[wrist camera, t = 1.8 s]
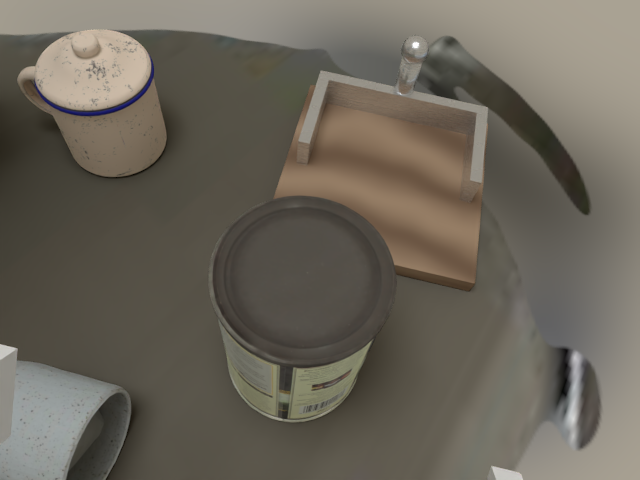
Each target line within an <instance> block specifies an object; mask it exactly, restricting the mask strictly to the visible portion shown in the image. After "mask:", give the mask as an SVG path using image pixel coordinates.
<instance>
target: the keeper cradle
mask: <svg viewBox="0 0 640 480" xmlns="http://www.w3.org/2000/svg"><path fill="white" fill-rule="evenodd" d="M401 54H402V61H401V65H400V68H399V72H398V76H397V79H396V83H395V87H393V86H389V85H384V84H380V83H375V82H371V81H366V80H362V79H357V78H353V77H348V76H344V75H339V74H335V73H330V72H326V71H321V72H320V75H319V78H318V81H317V84H316V87H315V90H314V93H313V96H312V100H311V103H310V106H309V109H308V112H307V115H306V118H305V121H304V125H303V128H302V131H301V134H300V137H299V140H298V151H297V163H299V164H303V165H308V162H309V158H310V155H311V152H312V148H313V145H314V142H315V138H316V135H317V132H318V128H319V125H320V122H321V118H322V115H323V112H324V108H325V105H326V103H328V104H332V105H337V106H341V107H346V108H350V109H355V110H359V111H363V112H368V113H372V114H377V115H381V116H386V117H390V118H395V119H399V120H404V121H408V122H413V123H417V124H421V125H426V126H430V127H435V128H439V129H444V130H448V131H453V132H457V133H462V134H466V144H465V153H464V162H463V171H462V181H461V190H460V199H459V200H460V201H465V202H469V203H471V201H472V199H473V197H474V196H475V194H476V192H477V190H478V189H479V187H480V185H481V183H482V174H483V162H484V150H485V138H486V126H487V114H488V107H484V106H479V105H475V104H470V103H465V102H461V101H457V100H452V99H448V98H443V97H439V96H434V95H430V94H425V93H420V92H416V91H413V90H414V87H415V84H416V81H417V78H418V74H419V71H420V68H421V65H422V62H423V61H424V60H425V59H426V58H427V56H428V54H429V45H428V42H427V41H426V39H424V38H423V37H421V36H417V35H414V36H411V37H409V38H407V39H406V40H405V41H404V43H403V45H402V48H401Z"/></svg>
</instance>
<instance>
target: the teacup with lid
mask: <svg viewBox="0 0 640 480" xmlns="http://www.w3.org/2000/svg"><path fill="white" fill-rule="evenodd" d="M153 76H154V66H153V62H152V59H151V57H150V55H149V54H148V52H147V51H146V50H145V48H144V47H143V46H142V45H141V44H140V43H138V42H137V41H136V40H135V39H133V38H131V37H129V36H127V35H125V34H123V33H119V32H116V31H111V30H101V29H97V30H96V29H95V30H85V31H79V32H76V33H72V34H69V35H67V36H64V37H62V38H60V39H58V40H57V41H55V42H54V43H52V44H51V45H50V46H49V47H47V48H46V49H45V51H44V52H43V53H42V54H41V56H40V57H39V59H38V61H37V64H36V67H35V66H31V67H27V68H25V69H23V70H22V71H21V73H20V74H19V76H18V79H17V81H18V85H19V87H20V89H21V91H22V92H23V94H24V95H25V96H26V97H27V98H28V99H29V100H30V101H31V102H32V103H33V104H34V105H35V106H37V107H38V108H40V109H41V110H43V111H45V112H47V113H49V114H51V115H53V117H54V119H55V121H56V123H57V125H58V127H59V129H60V131H61V133H62V135H63V137H64V139H65V141H66V143H67V145H68V147H69V149H70V151H71V153H72V155H73V157H74V159H75V160H76V162H77V163H78V164H79V165H80V166H81V167H83V168H84V169H86V170H87V171H89V172H91V173H94V174H96V175H100V176H106V177H122V176H128V175H132V174H135V173H137V172H140V171H142V170H144V169H146V168H147V167H149V166H150V165H152V164H153V163H154V162H155V161H156V160H157V159H158V158H159V157H160V155H161V154H162V152H163V150H164V148H165V145H166V140H167V134H166V128H165V124H164V120H163V116H162V112H161V107H160V103H159V99H158V95H157V91H156V87H155V83H154V78H153ZM31 80H34V81H35V86H36V87H35V86H34V84H33V83H32V81H31Z"/></svg>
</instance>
